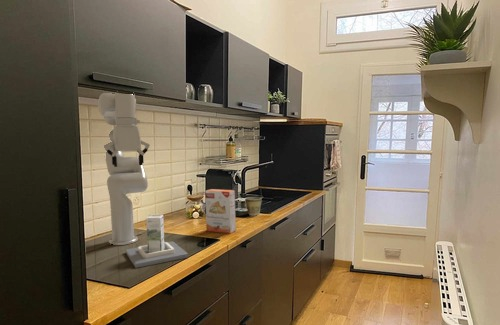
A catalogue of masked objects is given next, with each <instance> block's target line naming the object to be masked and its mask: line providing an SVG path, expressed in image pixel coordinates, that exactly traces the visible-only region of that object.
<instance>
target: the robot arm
mask: <svg viewBox="0 0 500 325" xmlns="http://www.w3.org/2000/svg"><path fill="white" fill-rule="evenodd" d="M112 93H113V92H103V93H101V94H100V95H99V97H98V100H97V107H98V108H97V109H98V112H99V114H100V115H101V116H102V117H103V120H104V122H105V123H107V124H108V125H110V126H113V127H114V129H113V130H112V131H111V132H110V134H109V137H110V140H111V141H112V142H110V143H108V144H106V145H104V148H105V150H106V151H107V152H106V159H105V163H106V168H107V172H108V174H109V176H108V177H107V180H106V184H107V185H106V186H107V192H108V196H109V203H110V204H109V205H110V218H111V219H110V220H111V221H110V222H111V223H110V224H111V236H112V237H111V238H109V240H108V244H109V243H110V244H109V245H111V244H113V245H112V246H125V245H126V246H127V245H131V244H133V243H135V242H136V243H137V241H138V240H139V238H138V236H137V235H135V228H134V227H135V226H134V210H133V209H134V207H133V206H134V205H133V201H132V200H131V199H130V198H129V197H128V194H129V195H130V194H136V193H139V194H140V193H143V192H145V191H146V190H147V189H148V186H149V184H148V178H147V174H146V171H145V167H144V156H145V154H146V153H147V152H148V150H149V148H150V144H149V143H147V142H146V141H143V140H141V135H140V129H139V126H137V125H138V124H140V123H141V120H139V119H137V114H136V108H137V99H136V94H134V95H133V94H119V93H116V92H114V93H115V94H112ZM142 145H143V146H144V149H142ZM123 152H137V153H138V157H137V156H125V155H124V153H123Z"/></svg>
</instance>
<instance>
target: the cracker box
mask: <svg viewBox="0 0 500 325" xmlns="http://www.w3.org/2000/svg"><path fill="white" fill-rule="evenodd" d="M204 192H205V196H204V197H205V221H206V232H212V233H213V232H214V233H220V234H221V233H222V234H229V235H230V234H233V233H234V232H236V229H237V228H236V223H237V221H236V195H235V190H234V189H219V188H218V189H216V188H214V189H213V188H211V189H207V190H205V191H204Z"/></svg>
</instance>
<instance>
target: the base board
mask: <svg viewBox="0 0 500 325" xmlns="http://www.w3.org/2000/svg"><path fill="white" fill-rule="evenodd" d="M164 244H165V249H164V250H163V251H158V252H152V253H148V246H147V244H146V245H140V246H139V245H138V247H132V248H131V247H130V248H126V249H125V254H126V256H127V257H128V259H129V260H130V262H131V264H132V265H133V267H134V268H135V269H137V268H138V269H139V268H143V267H148V266H153V265H157V264H163V263H167V262H174V261H177V260H182V259H186V258H187V259H188V258H189V253H188V252H187V251H186V250H185V249H183V248H182V247H180V246H179V244H177V243H175V241H164Z"/></svg>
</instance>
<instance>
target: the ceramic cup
mask: <svg viewBox="0 0 500 325" xmlns="http://www.w3.org/2000/svg"><path fill="white" fill-rule="evenodd" d="M244 199H245V205H246V210H247V214H248V213H249V216H253V217H254V216H259V215H260V214H261V207H262V206H261V205H262V199H263V198H262V197H261V196H247V197H245V198H244Z"/></svg>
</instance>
